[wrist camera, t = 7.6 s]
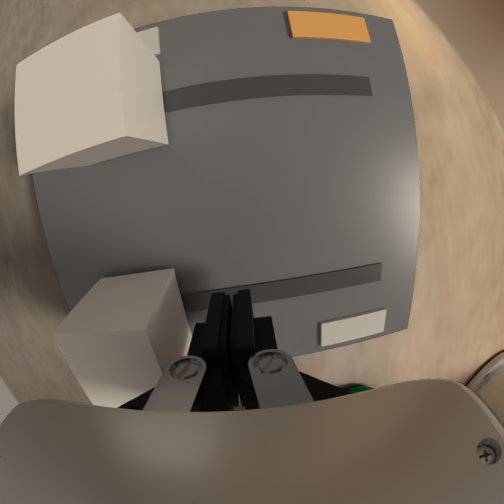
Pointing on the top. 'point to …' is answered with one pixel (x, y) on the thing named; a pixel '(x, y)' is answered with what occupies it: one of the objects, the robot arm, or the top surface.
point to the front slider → (88, 99)
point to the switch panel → (261, 177)
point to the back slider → (124, 335)
